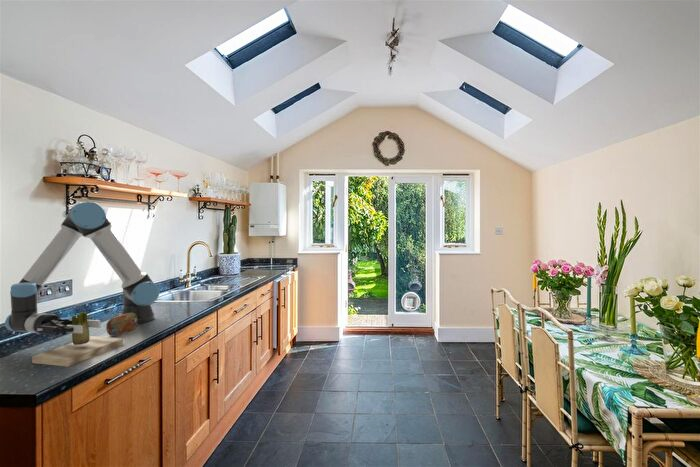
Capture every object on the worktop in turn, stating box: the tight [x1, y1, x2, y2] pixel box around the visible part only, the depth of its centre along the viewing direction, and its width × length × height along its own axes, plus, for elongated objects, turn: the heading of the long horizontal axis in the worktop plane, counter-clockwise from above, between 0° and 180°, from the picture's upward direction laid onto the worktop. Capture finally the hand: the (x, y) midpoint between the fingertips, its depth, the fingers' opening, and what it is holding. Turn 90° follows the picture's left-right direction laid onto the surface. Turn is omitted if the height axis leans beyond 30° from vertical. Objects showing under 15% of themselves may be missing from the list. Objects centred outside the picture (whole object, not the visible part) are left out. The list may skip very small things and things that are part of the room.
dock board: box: [31, 335, 124, 367], centre depth 129 cm, size 22×16×2 cm
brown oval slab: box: [106, 312, 139, 337], centre depth 154 cm, size 15×3×8 cm, turn 168°
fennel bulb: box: [71, 311, 90, 345], centre depth 129 cm, size 6×5×12 cm
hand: (90, 326), depth 128 cm, fingers open, 6 cm apart
